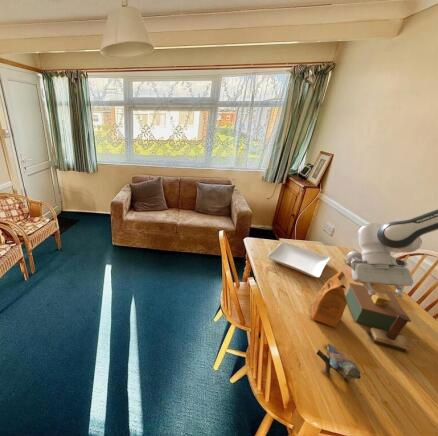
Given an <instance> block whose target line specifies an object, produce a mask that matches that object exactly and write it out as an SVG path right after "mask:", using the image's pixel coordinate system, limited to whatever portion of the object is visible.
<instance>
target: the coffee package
mask: <svg viewBox="0 0 438 436" xmlns="http://www.w3.org/2000/svg"><path fill="white" fill-rule="evenodd" d="M345 276H346V275H345V273H344V271H341V270H340V271H338V273H336V274H335V275H333V276H332V277H330V278H329V279H328V280H327V281H326V282H324V284H323V286H322V287H321V288H320V289H319V291H318V293H317V294H316V296H315V298H314V300H313V302H312V305H311V307H310V310H311V311H310V313H311V318H312V320H313V321H316V322H319V323H322V324H325V325H327V326H330V327H334V328H336V326H337V325H338V322H339V321H340V320H341V319H342V318H343V315H344V312H345V310H346V307H347V304H348V303H347V300H346V297H345V296H346V294H345V290H344V289H346V285H344V283H343V282H342V281H341V280H342V279H343V278H345Z"/></svg>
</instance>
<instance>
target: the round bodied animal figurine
mask: <svg viewBox="0 0 438 436" xmlns="http://www.w3.org/2000/svg"><path fill="white" fill-rule="evenodd" d="M354 260H359V261H361V260H362V261H363V259H362V252H360V251H357V250H356V251H355V250H352V251H350V252H348V253H347V254H346V258H345V260H344V261H346V262H345V264H347V265H348V266H351V262H352V261H354Z"/></svg>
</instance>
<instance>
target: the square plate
mask: <svg viewBox="0 0 438 436" xmlns="http://www.w3.org/2000/svg"><path fill="white" fill-rule="evenodd" d="M266 257H267V258H268V259H269V260H271V261H273V262H274V263H277V264H280V265H283V266H285V267H287V268H289V269H292V270H294V271H297V272H300V273H302V274H304V275H307V276H309V277H312V278H321V276H322V274H323V272H324V269H325V267H327V266H326V265H327V264H328V263H329V262H330V260H331V257H330V256H328V255H325V254H323V253H320V252H317V251H314V250H312V249H309V248H305V247H303V246H299V245H297V244H294V243H291V242H287V241H281V242H280V243H279V244H278V245H277V246H276V247H275V248H274V249H273V250H272V251H271V252H269V254H268V255H267V256H266Z"/></svg>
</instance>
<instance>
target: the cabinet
mask: <svg viewBox="0 0 438 436" xmlns="http://www.w3.org/2000/svg"><path fill="white" fill-rule="evenodd" d="M348 285H349V288H348V290H347V292H346V294H345V297H346V300H347V304H348V307H349V309H350V312H351V314H352V316H353V319H354V321H355V322H356V323H357V324H358V323H359V324H362V325H367V326H370V327H372V328H376V329H380V330H383V331H387V332H388V330H389V329H390V327H391V325H392V324H393V322H394V321H395V319H396V318H397V316H398V315H399V314H403V315H405V316H407V317H408V318H409V321H408V322H407V323H411V322H412V320H411V318H410V317H409V315H408V314H407V312H406V310H405V309H404V308H403V307H402V305H401V304H400V302H399V301H398V300H397V297H395V296H394V293H393V292H391V291H387V290H384V289H379V288H375V287H371V288H372V289H373V290H375V292H378V293H382V294H386V295H387V296H388V298H389V299H390V302H389V304H388V306H387V307H385V306H381V305H377V304H375V303H374V302H373V300H372V298H371V297H372V295H369V294H368V290H367V289H366V288H365V287H364V285H363V284H362V285H361V284H357V283H352V282H349V283H348Z"/></svg>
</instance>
